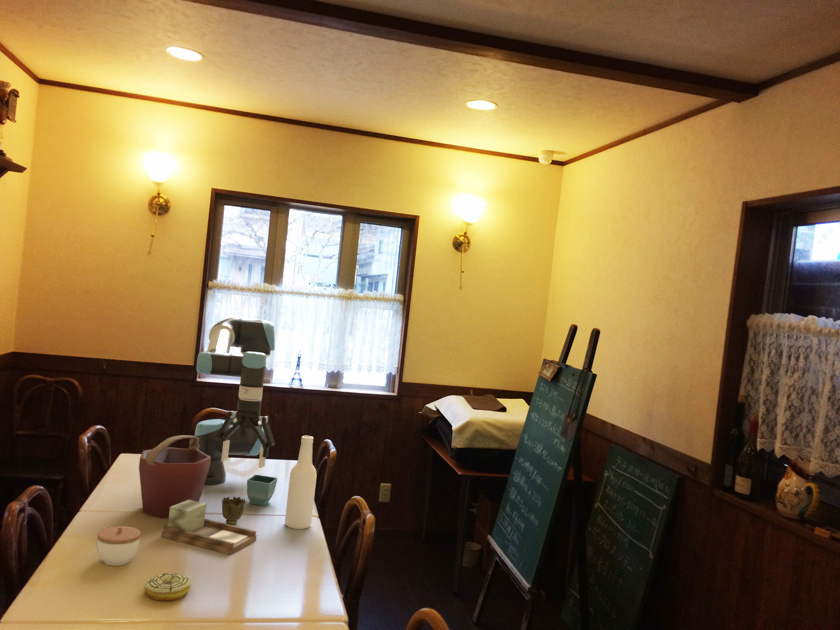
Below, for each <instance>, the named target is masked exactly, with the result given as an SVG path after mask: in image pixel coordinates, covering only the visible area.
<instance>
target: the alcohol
mask: <svg viewBox="0 0 840 630" xmlns="http://www.w3.org/2000/svg"><path fill="white" fill-rule="evenodd" d="M300 442H301V443H300V448H299V453H298V458H297V461H296V464H295V465H293V467H292V468H291V470H290V473H289V481H288V490H287V497H286V498H287V499H286V506H285V507H286V508H285V515H284V516H285V517H284V523H285V526H286V527H287V526H288V528H290V529H292V528H293V530H305V528H306V529H308V528H310V526H311V524H312V520H313V514H314V511H313V510H314V504H315V503H314V502H315V493H316V485H317V469H316V468H315V466H314V465H313V443H314V437H313V436H311V435H303V436H301V439H300Z"/></svg>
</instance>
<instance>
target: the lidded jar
mask: <svg viewBox="0 0 840 630" xmlns="http://www.w3.org/2000/svg"><path fill="white" fill-rule="evenodd" d="M141 535H142V532H141V531H140V529H138V528H135V527H132V526H123V525H120V526H119V525H118V526H117V525H116V526H110V527H106V528H103V529H102V530H100V531H98V532H97V543H96V546H97V547H96V548H97V553H98V556H99V558H100V559H101V560H102V561H103V563H104V564H105V565H107V566H114V567H115V566H123V565H126V564H128V563H129V562H130V560H131V559H132V558H133V557H134V556H136V553H137V552H138V548H139V545H140V539H141Z"/></svg>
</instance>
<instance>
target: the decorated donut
mask: <svg viewBox="0 0 840 630" xmlns="http://www.w3.org/2000/svg"><path fill="white" fill-rule="evenodd" d="M191 583H192V580H191V579H190V577H188V576H187V575H184V574H180V573H173V572H169V573H165V572H164V573H161V574H156V575H153V576H152V577H150V578H147V579H146V581H145V582H144V584H143V589H144V593H145V594H146V595H147V596H148V597H150V598H151V599H153V600H156V601H163V602H165V601H166V602H167V601H168V602H170V601H177V600H179V599H182V598H183V597H185V595H187V594H188V593H189V591H190V589H191Z"/></svg>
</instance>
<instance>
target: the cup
mask: <svg viewBox="0 0 840 630" xmlns="http://www.w3.org/2000/svg"><path fill="white" fill-rule="evenodd" d="M245 504H246V499H245V498H241V497H240V496H238V497H236V496H233V497H232V498H230V497H229V496H227V497H223V499H221V508H222V509H221V513H222V514H221V515H222V517H223V518H224V519H225V524H229V525H233V526H236V525H237V523H238V520H239V519H241V517H242V516H243V513H244V510H245Z"/></svg>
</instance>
